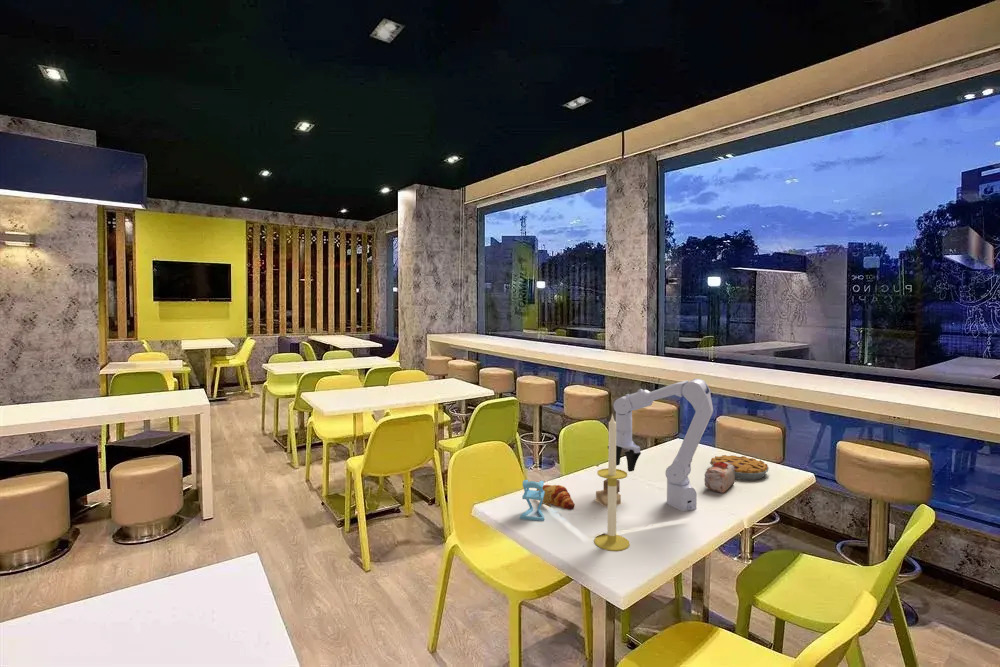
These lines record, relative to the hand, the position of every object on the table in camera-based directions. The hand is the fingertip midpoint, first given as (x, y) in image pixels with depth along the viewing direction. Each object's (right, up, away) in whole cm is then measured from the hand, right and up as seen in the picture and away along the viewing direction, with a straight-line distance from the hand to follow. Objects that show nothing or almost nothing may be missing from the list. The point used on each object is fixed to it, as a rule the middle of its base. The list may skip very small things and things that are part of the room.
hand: (623, 468), depth 179 cm
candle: (-12, -12, -35) cm, 39 cm away
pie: (+54, -9, +27) cm, 61 cm away
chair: (-33, -12, -15) cm, 38 cm away
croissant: (-25, -11, -4) cm, 28 cm away
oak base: (-7, -10, -8) cm, 14 cm away
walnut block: (-6, -6, -7) cm, 11 cm away
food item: (+38, -10, +9) cm, 41 cm away
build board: (-4, -11, -7) cm, 13 cm away
